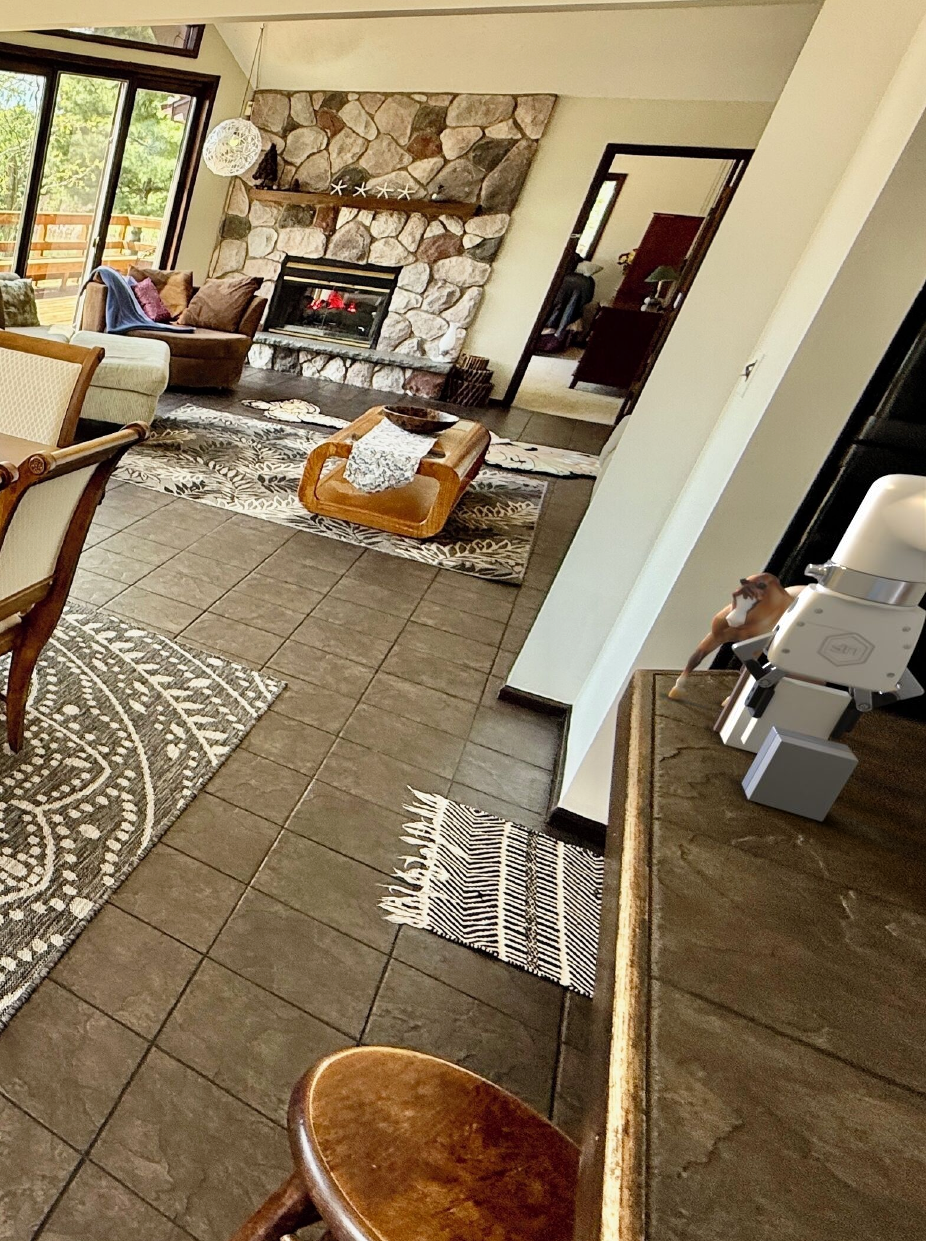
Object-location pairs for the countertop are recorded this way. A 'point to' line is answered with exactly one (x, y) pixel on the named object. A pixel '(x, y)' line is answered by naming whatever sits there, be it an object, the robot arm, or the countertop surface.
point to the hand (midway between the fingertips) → (792, 722)
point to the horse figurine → (743, 620)
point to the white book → (798, 711)
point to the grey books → (799, 773)
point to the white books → (744, 710)
